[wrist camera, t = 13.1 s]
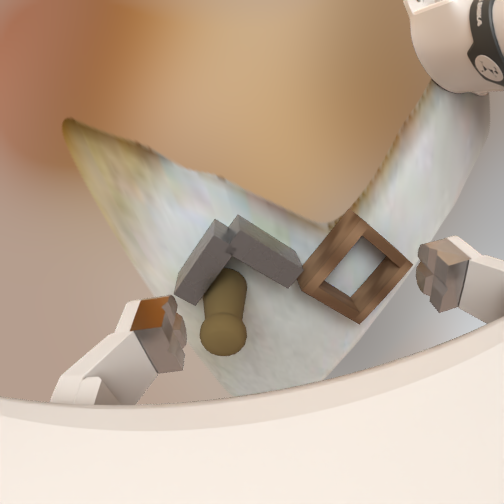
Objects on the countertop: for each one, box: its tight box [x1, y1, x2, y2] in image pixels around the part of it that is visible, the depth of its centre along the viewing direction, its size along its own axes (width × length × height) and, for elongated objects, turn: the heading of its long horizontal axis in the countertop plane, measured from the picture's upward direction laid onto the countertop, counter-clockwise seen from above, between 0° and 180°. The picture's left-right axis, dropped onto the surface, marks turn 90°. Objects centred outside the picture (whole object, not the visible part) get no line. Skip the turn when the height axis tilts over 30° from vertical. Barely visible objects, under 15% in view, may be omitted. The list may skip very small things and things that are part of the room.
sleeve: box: [297, 209, 413, 324], centre depth 40 cm, size 12×12×4 cm
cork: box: [200, 268, 247, 356], centre depth 36 cm, size 6×6×11 cm
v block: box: [174, 215, 304, 306], centre depth 37 cm, size 8×16×5 cm, turn 99°
